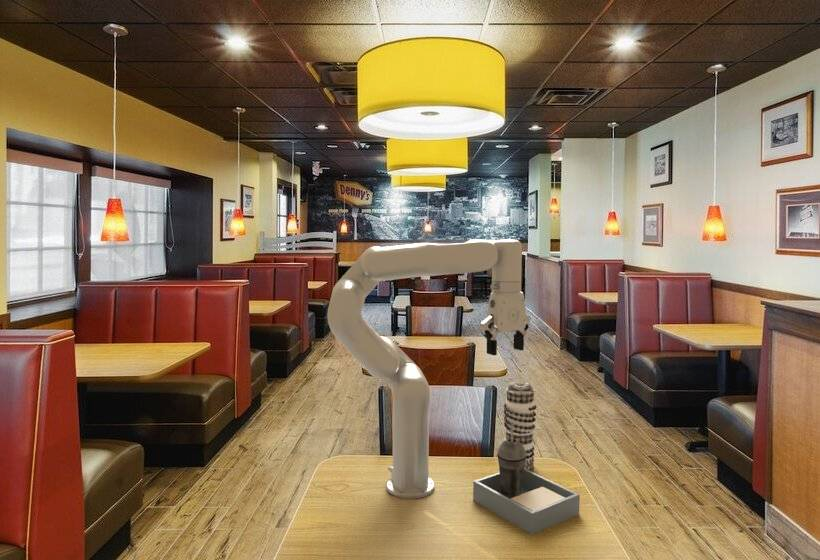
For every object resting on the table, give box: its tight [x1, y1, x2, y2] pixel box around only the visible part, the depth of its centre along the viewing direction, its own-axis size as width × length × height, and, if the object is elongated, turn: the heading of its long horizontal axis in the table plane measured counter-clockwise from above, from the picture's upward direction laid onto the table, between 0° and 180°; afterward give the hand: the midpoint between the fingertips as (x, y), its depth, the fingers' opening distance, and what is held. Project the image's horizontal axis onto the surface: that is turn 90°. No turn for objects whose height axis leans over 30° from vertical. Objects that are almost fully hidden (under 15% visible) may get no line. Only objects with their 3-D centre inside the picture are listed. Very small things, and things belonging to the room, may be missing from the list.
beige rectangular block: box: [511, 487, 565, 511], centre depth 144 cm, size 8×11×4 cm
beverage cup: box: [496, 424, 526, 499], centre depth 150 cm, size 7×7×20 cm
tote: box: [472, 468, 581, 536], centre depth 147 cm, size 20×16×6 cm
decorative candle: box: [503, 381, 538, 471], centre depth 170 cm, size 9×9×25 cm
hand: (505, 351), depth 158 cm, fingers open, 9 cm apart
